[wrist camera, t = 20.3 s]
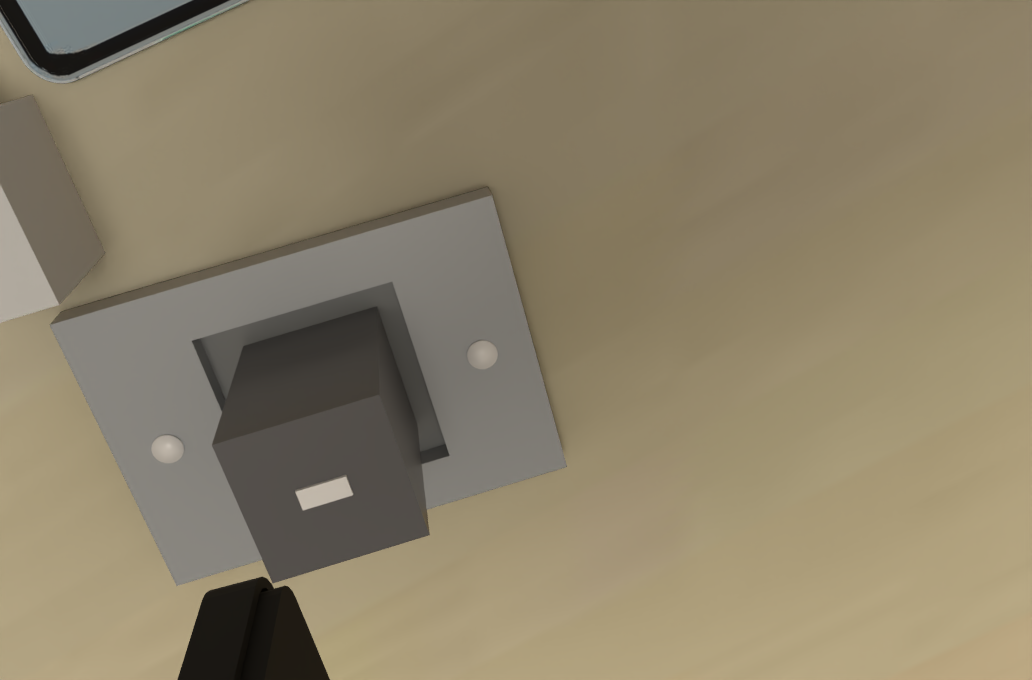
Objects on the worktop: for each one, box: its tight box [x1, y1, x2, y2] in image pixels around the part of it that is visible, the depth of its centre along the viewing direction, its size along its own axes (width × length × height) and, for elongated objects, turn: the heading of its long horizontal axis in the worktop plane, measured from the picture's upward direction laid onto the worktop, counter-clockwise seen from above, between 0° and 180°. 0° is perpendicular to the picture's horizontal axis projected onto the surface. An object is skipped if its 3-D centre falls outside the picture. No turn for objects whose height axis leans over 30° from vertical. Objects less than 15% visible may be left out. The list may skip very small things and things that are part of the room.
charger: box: [212, 306, 429, 583], centre depth 29 cm, size 4×4×7 cm
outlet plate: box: [50, 187, 567, 586], centre depth 32 cm, size 14×10×1 cm
